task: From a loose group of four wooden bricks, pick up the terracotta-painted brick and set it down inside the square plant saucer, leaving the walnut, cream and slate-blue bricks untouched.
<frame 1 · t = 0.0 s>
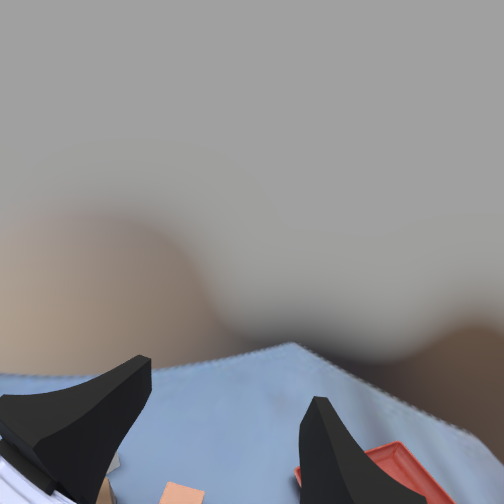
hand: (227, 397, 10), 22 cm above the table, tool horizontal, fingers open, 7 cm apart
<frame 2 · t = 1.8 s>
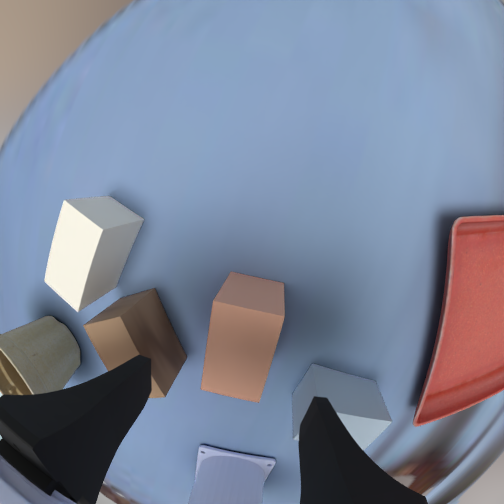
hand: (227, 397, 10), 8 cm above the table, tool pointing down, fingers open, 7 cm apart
terracotta brick: (248, 317, 18), on the table
walnut brick: (152, 328, 19), on the table
flower pot: (62, 341, 21), on the table
slate-blue brick: (334, 388, 19), on the table
cream brick: (111, 242, 18), on the table
plant saucer: (492, 308, 17), on the table
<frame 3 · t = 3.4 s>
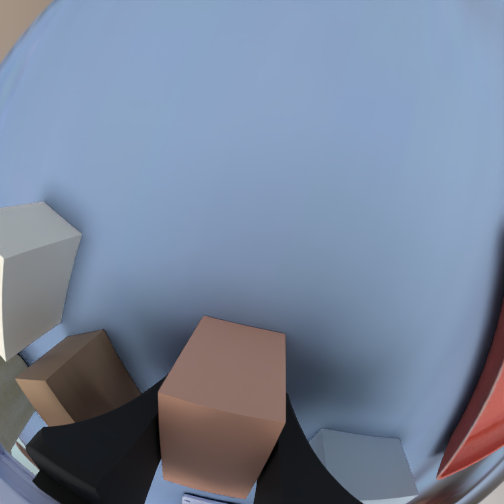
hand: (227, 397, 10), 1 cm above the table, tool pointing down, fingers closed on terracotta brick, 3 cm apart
terracotta brick: (232, 377, 12), on the table, touching gripper
walnut brick: (109, 376, 13), on the table
flower pot: (22, 373, 15), on the table
slate-blue brick: (347, 449, 13), on the table
cream brick: (50, 264, 12), on the table
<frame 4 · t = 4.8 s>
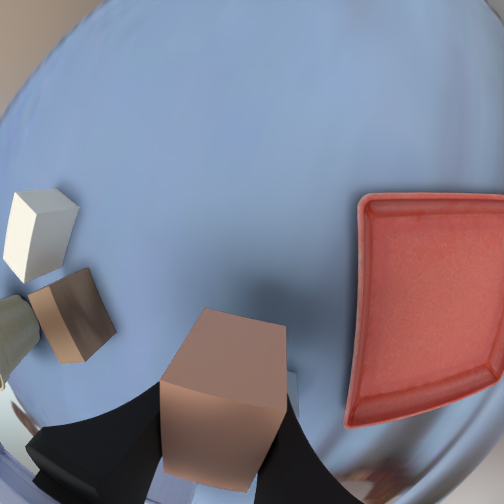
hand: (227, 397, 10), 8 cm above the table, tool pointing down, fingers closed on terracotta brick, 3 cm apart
terracotta brick: (233, 370, 12), point 7 cm above the table, touching gripper
walnut brick: (89, 304, 20), on the table
flower pot: (27, 318, 22), on the table
slate-blue brick: (252, 376, 20), on the table
cream brick: (58, 228, 19), on the table
plant saucer: (443, 304, 18), on the table
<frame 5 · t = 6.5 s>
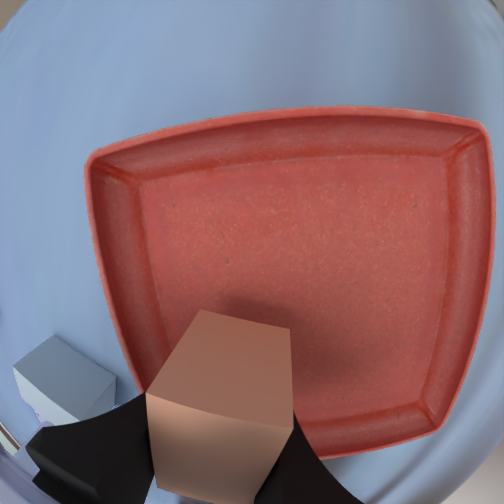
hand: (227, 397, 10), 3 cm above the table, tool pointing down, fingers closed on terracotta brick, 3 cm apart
terracotta brick: (232, 377, 11), point 3 cm above the table, touching gripper
slate-blue brick: (83, 370, 16), on the table
plant saucer: (309, 311, 13), on the table
when the fingers open (3 cm above the table, at t = 7.1 s): terracotta brick stays where it is, resting on plant saucer.
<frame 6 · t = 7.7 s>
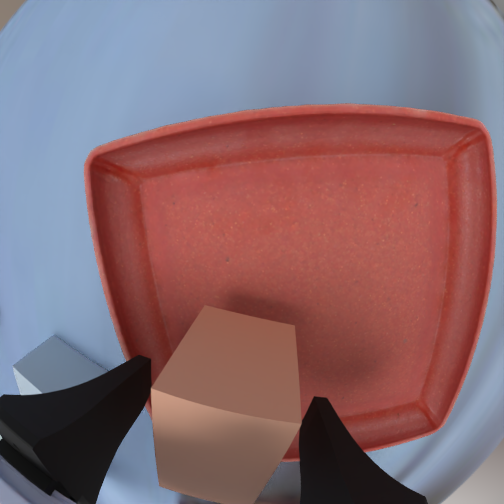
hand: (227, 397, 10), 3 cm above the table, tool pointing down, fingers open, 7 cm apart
terracotta brick: (235, 375, 11), point 3 cm above the table, touching plant saucer
slate-blue brick: (83, 370, 16), on the table
plant saucer: (309, 310, 13), on the table, touching terracotta brick
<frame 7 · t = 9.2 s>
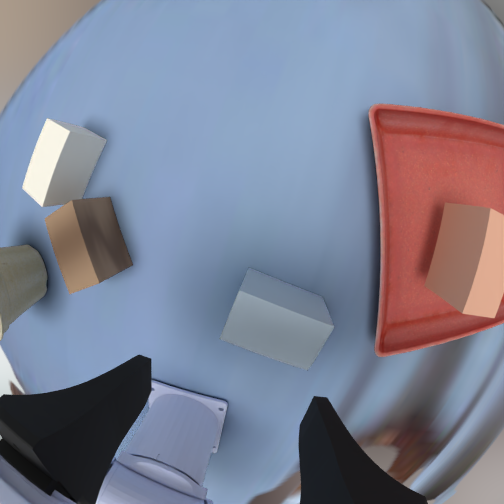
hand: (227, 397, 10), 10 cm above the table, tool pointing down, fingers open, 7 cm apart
terracotta brick: (452, 249, 15), point 3 cm above the table, touching plant saucer
walnut brick: (106, 237, 21), on the table
flower pot: (34, 271, 23), on the table
slate-blue brick: (277, 302, 20), on the table
cream brick: (81, 164, 20), on the table
plant saucer: (455, 226, 18), on the table, touching terracotta brick
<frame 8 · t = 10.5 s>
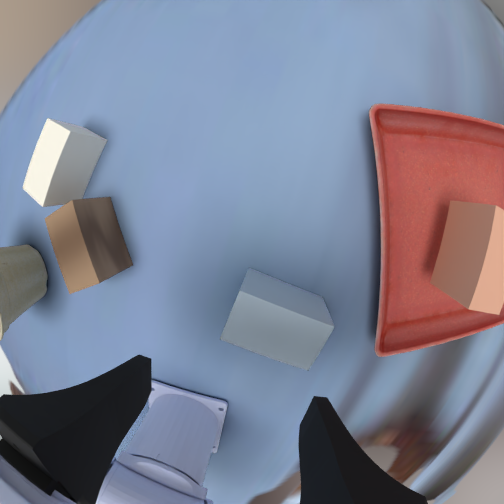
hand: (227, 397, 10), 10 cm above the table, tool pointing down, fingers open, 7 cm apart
terracotta brick: (457, 247, 15), point 3 cm above the table, touching plant saucer
walnut brick: (106, 237, 21), on the table
flower pot: (34, 271, 23), on the table
slate-blue brick: (277, 302, 20), on the table
cream brick: (81, 164, 20), on the table
plant saucer: (455, 227, 18), on the table, touching terracotta brick
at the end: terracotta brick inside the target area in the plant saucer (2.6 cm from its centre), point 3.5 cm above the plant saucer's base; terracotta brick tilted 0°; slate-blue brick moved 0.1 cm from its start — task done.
